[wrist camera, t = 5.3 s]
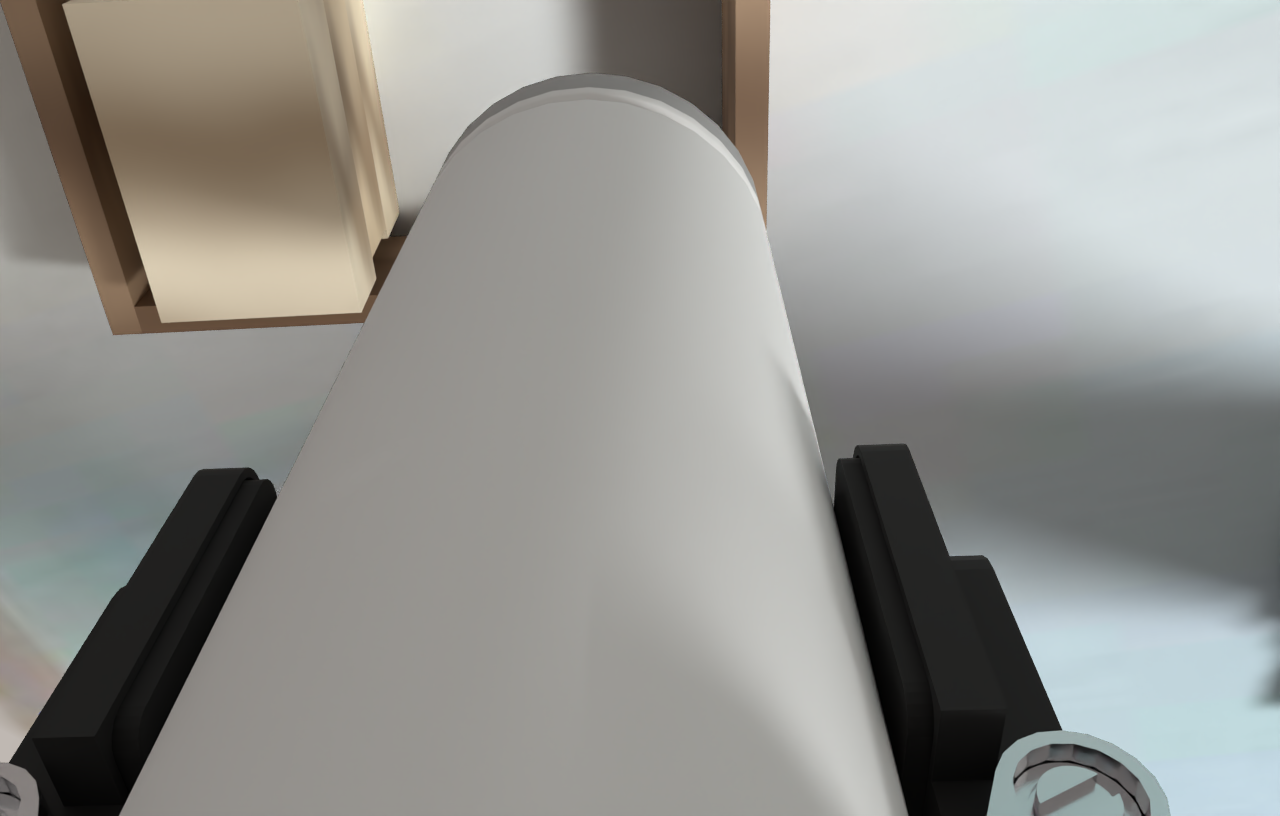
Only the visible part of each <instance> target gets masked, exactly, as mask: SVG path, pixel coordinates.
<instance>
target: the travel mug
mask: <svg viewBox="0 0 1280 816" xmlns="http://www.w3.org/2000/svg"><path fill="white" fill-rule="evenodd" d="M119 816H909V815H908V811H907V807H906V803H905V799H904V795H903V791H902V786H901V782H900V778H899V774H898V770H897V766H896V762H895V758H894V754H893V749H892V745H891V741H890V737H889V733H888V729H887V725H886V721H885V717H884V713H883V708H882V704H881V700H880V696H879V692H878V688H877V684H876V680H875V676H874V671H873V667H872V663H871V659H870V655H869V651H868V647H867V643H866V639H865V635H864V630H863V626H862V622H861V618H860V614H859V610H858V606H857V602H856V598H855V594H854V589H853V585H852V581H851V577H850V573H849V569H848V565H847V561H846V557H845V553H844V548H843V544H842V540H841V536H840V532H839V528H838V524H837V520H836V516H835V512H834V507H833V503H832V499H831V495H830V491H829V487H828V482H827V478H826V474H825V470H824V466H823V462H822V458H821V454H820V450H819V446H818V441H817V437H816V433H815V429H814V425H813V421H812V417H811V413H810V409H809V404H808V400H807V396H806V392H805V388H804V384H803V380H802V376H801V372H800V367H799V363H798V359H797V355H796V351H795V347H794V343H793V339H792V335H791V330H790V326H789V322H788V318H787V314H786V310H785V306H784V302H783V298H782V294H781V289H780V285H779V281H778V277H777V273H776V269H775V265H774V261H773V257H772V252H771V248H770V244H769V241H768V237H767V232H766V228H765V224H764V220H763V215H762V211H761V208H760V204H759V200H758V196H757V192H756V189H755V185H754V181H753V179H752V177H751V175H750V173H749V171H748V169H747V167H746V165H745V163H744V161H743V159H742V157H741V155H740V153H739V151H738V150H737V148H736V147H735V146H734V145H733V143H732V142H731V141H730V140H729V138H728V137H727V136H726V135H725V133H724V132H723V131H722V130H721V128H720V127H719V126H718V125H717V124H716V123H715V122H714V121H712V120H711V119H710V118H709V117H708V116H706V115H705V114H704V113H703V112H702V111H700V110H699V109H698V108H697V107H696V106H694V105H693V104H692V103H690V102H689V101H687V100H685V99H683V98H681V97H679V96H677V95H676V94H674V93H672V92H670V91H668V90H666V89H664V88H662V87H661V86H657V85H654V84H651V83H647V82H644V81H641V80H637V79H634V78H631V77H627V76H619V75H608V74H597V73H586V74H577V75H567V76H557V77H554V78H550V79H547V80H544V81H541V82H538V83H535V84H532V85H528V86H525V87H523V88H521V89H519V90H517V91H516V92H514V93H512V94H510V95H508V96H507V97H505V98H503V99H501V100H500V101H498V102H496V103H494V104H493V105H492V106H491V107H489V108H488V109H487V110H486V111H485V112H484V113H483V114H482V115H480V116H479V117H478V118H477V119H476V120H475V121H474V122H472V123H471V124H470V125H469V126H468V127H467V129H466V130H465V132H464V133H463V134H462V136H461V137H460V138H459V140H458V141H457V142H456V144H455V145H454V146H453V148H452V149H451V151H450V152H449V154H448V156H447V158H446V160H445V162H444V164H443V166H442V168H441V170H440V172H439V174H438V176H437V178H436V181H435V183H434V184H433V186H432V188H431V190H430V192H429V194H428V196H427V198H426V200H425V202H424V204H423V206H422V208H421V210H420V212H419V214H418V216H417V218H416V220H415V222H414V224H413V226H412V228H411V230H410V232H409V234H408V236H407V238H406V240H405V242H404V244H403V246H402V248H401V250H400V252H399V254H398V256H397V258H396V260H395V262H394V264H393V266H392V268H391V270H390V272H389V274H388V276H387V278H386V280H385V282H384V284H383V286H382V288H381V290H380V292H379V294H378V296H377V298H376V300H375V302H374V304H373V306H372V309H371V311H370V313H369V315H368V317H367V319H366V321H365V323H364V325H363V327H362V329H361V331H360V333H359V335H358V337H357V339H356V341H355V343H354V345H353V347H352V349H351V351H350V353H349V355H348V357H347V359H346V361H345V363H344V365H343V367H342V369H341V371H340V373H339V375H338V377H337V379H336V381H335V383H334V385H333V387H332V389H331V391H330V393H329V395H328V397H327V399H326V401H325V403H324V405H323V407H322V409H321V411H320V413H319V415H318V417H317V419H316V421H315V423H314V425H313V427H312V429H311V431H310V433H309V435H308V437H307V439H306V441H305V443H304V445H303V447H302V449H301V451H300V453H299V455H298V457H297V459H296V461H295V463H294V465H293V467H292V469H291V471H290V473H289V475H288V477H287V479H286V481H285V483H284V485H283V487H282V489H281V491H280V493H279V495H278V497H277V499H276V501H275V503H274V505H273V507H272V509H271V511H270V513H269V515H268V517H267V519H266V521H265V523H264V525H263V527H262V529H261V531H260V533H259V535H258V537H257V539H256V541H255V543H254V546H253V548H252V550H251V552H250V554H249V556H248V558H247V560H246V562H245V564H244V566H243V568H242V570H241V572H240V574H239V576H238V578H237V580H236V582H235V584H234V586H233V588H232V590H231V592H230V594H229V596H228V598H227V600H226V602H225V604H224V606H223V608H222V610H221V612H220V614H219V616H218V618H217V620H216V622H215V624H214V626H213V628H212V630H211V632H210V634H209V636H208V638H207V640H206V642H205V644H204V646H203V648H202V650H201V652H200V654H199V656H198V658H197V660H196V662H195V664H194V666H193V668H192V670H191V672H190V674H189V676H188V678H187V680H186V682H185V684H184V686H183V688H182V690H181V692H180V694H179V696H178V698H177V700H176V702H175V704H174V706H173V708H172V710H171V712H170V714H169V716H168V718H167V720H166V722H165V724H164V726H163V728H162V730H161V732H160V734H159V736H158V738H157V740H156V742H155V744H154V746H153V748H152V750H151V752H150V754H149V756H148V758H147V760H146V762H145V764H144V766H143V768H142V770H141V772H140V774H139V776H138V778H137V780H136V783H135V785H134V787H133V789H132V791H131V793H130V795H129V797H128V799H127V801H126V803H125V805H124V807H123V809H122V811H121V813H120V815H119Z"/></svg>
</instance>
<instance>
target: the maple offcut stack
mask: <svg viewBox="0 0 1280 816" xmlns="http://www.w3.org/2000/svg"><path fill="white" fill-rule="evenodd" d="M62 6H63V9H64V12H65V15H66V19H67V22H68V25H69V28H70V31H71V35H72V38H73V41H74V44H75V47H76V51H77V54H78V57H79V60H80V63H81V67H82V70H83V73H84V76H85V79H86V83H87V86H88V89H89V92H90V95H91V99H92V102H93V105H94V108H95V111H96V115H97V118H98V121H99V124H100V128H101V131H102V134H103V137H104V140H105V144H106V147H107V150H108V153H109V156H110V160H111V163H112V166H113V169H114V172H115V176H116V179H117V182H118V185H119V188H120V192H121V195H122V198H123V201H124V204H125V208H126V211H127V214H128V217H129V220H130V224H131V227H132V230H133V233H134V236H135V240H136V243H137V246H138V249H139V252H140V256H141V259H142V262H143V265H144V268H145V272H146V275H147V278H148V281H149V284H150V288H151V291H152V294H153V297H154V300H155V304H156V307H157V310H158V313H159V316H160V320H161V323H170V322H190V321H209V320H228V319H248V318H267V317H286V316H305V315H325V314H344V313H361V312H362V310H363V308H364V306H365V303H366V301H367V299H368V297H369V294H370V292H371V290H372V288H373V285H374V283H375V281H376V274H375V268H374V263H373V255H374V253H375V251H376V249H377V247H378V245H379V243H380V241H381V239H388V237H389V235H390V233H391V231H392V229H393V226H394V224H395V222H396V220H397V218H398V215H399V213H400V212H399V206H398V201H397V195H396V189H395V183H394V178H393V172H392V166H391V160H390V155H389V149H388V143H387V137H386V132H385V126H384V120H383V114H382V109H381V103H380V97H379V91H378V86H377V80H376V74H375V68H374V63H373V57H372V51H371V45H370V40H369V34H368V28H367V22H366V17H365V11H364V5H363V0H70V1H68V2H66V3H64V4H62Z"/></svg>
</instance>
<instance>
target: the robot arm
mask: <svg viewBox="0 0 1280 816" xmlns="http://www.w3.org/2000/svg"><path fill="white" fill-rule="evenodd" d="M276 499H277V495H276V491H275V488H274V486H273V484H272V482H271V481H270V480H268V479H263V480H259V478H258V476H257V474H256V473H255V471H254V470H253V469H251V468H224V469H203V470H199V471H198V472H197V473H196V474H195V475H194V477H193V478H192V480H191V482H190V483H189V485H188V486H187V488H186V490H185V491H184V493H183V495H182V496H181V498H180V499H179V501H178V503H177V504H176V506H175V507H174V509H173V511H172V512H171V514H170V516H169V517H168V519H167V520H166V522H165V524H164V525H163V527H162V528H161V530H160V532H159V533H158V535H157V537H156V538H155V540H154V541H153V543H152V545H151V546H150V548H149V549H148V551H147V553H146V554H145V556H144V557H143V559H142V561H141V562H140V564H139V566H138V567H137V569H136V570H135V572H134V574H133V575H132V577H131V578H130V580H129V582H128V583H127V585H126V586H124V587H122V588H120V589H119V591H118V592H117V593H116V594H115V595H114V597H113V598H112V599H111V601H110V602H109V604H108V606H107V607H106V609H105V610H104V612H103V614H102V615H101V617H100V618H99V620H98V621H97V623H96V625H95V626H94V628H93V629H92V631H91V633H90V634H89V636H88V637H87V639H86V641H85V642H84V644H83V645H82V647H81V649H80V650H79V652H78V653H77V655H76V657H75V658H74V660H73V661H72V663H71V665H70V666H69V668H68V669H67V671H66V673H65V674H64V676H63V677H62V679H61V680H60V682H59V684H58V685H57V687H56V688H55V690H54V692H53V693H52V695H51V696H50V698H49V700H48V701H47V703H46V704H45V706H44V708H43V709H42V711H41V712H40V714H39V716H38V717H37V719H36V720H35V722H34V724H33V725H32V727H31V728H30V730H29V732H28V733H27V735H26V736H25V738H24V740H23V741H22V743H21V744H20V746H19V747H18V749H17V751H16V752H15V754H14V755H13V757H12V759H11V760H10V762H9V763H0V816H119V815H120V813H121V811H122V809H123V807H124V805H125V803H126V801H127V799H128V797H129V795H130V793H131V791H132V789H133V787H134V785H135V783H136V780H137V778H138V776H139V774H140V772H141V770H142V768H143V766H144V764H145V762H146V760H147V758H148V756H149V754H150V752H151V750H152V748H153V746H154V744H155V742H156V740H157V738H158V736H159V734H160V732H161V730H162V728H163V726H164V724H165V722H166V720H167V718H168V716H169V714H170V712H171V710H172V708H173V706H174V704H175V702H176V700H177V698H178V696H179V694H180V692H181V690H182V688H183V686H184V684H185V682H186V680H187V678H188V676H189V674H190V672H191V670H192V668H193V666H194V664H195V662H196V660H197V658H198V656H199V654H200V652H201V650H202V648H203V646H204V644H205V642H206V640H207V638H208V636H209V634H210V632H211V630H212V628H213V626H214V624H215V622H216V620H217V618H218V616H219V614H220V612H221V610H222V608H223V606H224V604H225V602H226V600H227V598H228V596H229V594H230V592H231V590H232V588H233V586H234V584H235V582H236V580H237V578H238V576H239V574H240V572H241V570H242V568H243V566H244V564H245V562H246V560H247V558H248V556H249V554H250V552H251V550H252V548H253V546H254V543H255V541H256V539H257V537H258V535H259V533H260V531H261V529H262V527H263V525H264V523H265V521H266V519H267V517H268V515H269V513H270V511H271V509H272V507H273V505H274V503H275V501H276ZM834 512H835V516H836V520H837V524H838V528H839V532H840V536H841V540H842V544H843V548H844V553H845V557H846V561H847V565H848V569H849V573H850V577H851V581H852V585H853V589H854V594H855V598H856V602H857V606H858V610H859V614H860V618H861V622H862V626H863V630H864V635H865V639H866V643H867V647H868V651H869V655H870V659H871V663H872V667H873V671H874V676H875V680H876V684H877V688H878V692H879V696H880V700H881V704H882V708H883V713H884V717H885V721H886V725H887V729H888V733H889V737H890V741H891V745H892V749H893V754H894V758H895V762H896V766H897V770H898V774H899V778H900V782H901V786H902V791H903V795H904V799H905V803H906V807H907V811H908V815H909V816H1170V810H1169V805H1168V800H1167V797H1166V795H1165V793H1164V792H1163V790H1162V788H1161V786H1160V785H1159V783H1158V781H1157V779H1156V778H1155V776H1154V775H1153V774H1152V773H1151V772H1150V771H1149V770H1147V769H1146V768H1145V767H1144V766H1143V765H1142V764H1141V763H1140V762H1139V761H1138V760H1137V759H1136V758H1135V757H1133V756H1132V755H1130V754H1128V753H1127V752H1125V751H1124V750H1122V749H1120V748H1119V747H1117V746H1116V745H1114V744H1112V743H1109V742H1107V741H1104V740H1101V739H1099V738H1096V737H1093V736H1091V735H1088V734H1082V733H1075V732H1069V731H1062V728H1061V726H1060V724H1059V721H1058V719H1057V717H1056V714H1055V712H1054V710H1053V707H1052V705H1051V703H1050V700H1049V698H1048V696H1047V693H1046V691H1045V689H1044V686H1043V684H1042V681H1041V679H1040V677H1039V674H1038V672H1037V670H1036V667H1035V665H1034V663H1033V660H1032V658H1031V656H1030V653H1029V651H1028V649H1027V646H1026V644H1025V642H1024V639H1023V637H1022V635H1021V632H1020V630H1019V628H1018V625H1017V623H1016V621H1015V618H1014V616H1013V614H1012V611H1011V609H1010V607H1009V604H1008V602H1007V599H1006V597H1005V595H1004V592H1003V590H1002V588H1001V585H1000V583H999V581H998V578H997V576H996V574H995V571H994V569H993V567H992V565H991V564H990V562H989V560H988V559H987V558H986V557H984V556H983V555H979V556H949V554H948V551H947V549H946V546H945V543H944V541H943V538H942V535H941V533H940V530H939V527H938V525H937V522H936V519H935V517H934V514H933V512H932V509H931V506H930V504H929V501H928V498H927V496H926V493H925V490H924V488H923V485H922V483H921V480H920V477H919V475H918V472H917V469H916V467H915V464H914V461H913V459H912V456H911V453H910V451H909V449H908V447H907V445H906V444H883V445H857V446H856V447H855V450H854V455H853V458H844V459H838V461H837V467H836V482H835V499H834Z"/></svg>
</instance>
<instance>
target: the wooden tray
mask: <svg viewBox="0 0 1280 816" xmlns="http://www.w3.org/2000/svg"><path fill="white" fill-rule="evenodd" d="M68 1H70V0H0V2H1V5H2V8H3V11H4V14H5V17H6V20H7V23H8V26H9V29H10V32H11V35H12V38H13V41H14V44H15V47H16V50H17V53H18V56H19V59H20V61H21V64H22V67H23V70H24V73H25V76H26V79H27V82H28V85H29V88H30V91H31V94H32V97H33V100H34V103H35V106H36V109H37V112H38V115H39V118H40V121H41V124H42V126H43V129H44V132H45V135H46V138H47V141H48V144H49V147H50V150H51V153H52V156H53V159H54V162H55V165H56V168H57V171H58V174H59V177H60V180H61V183H62V186H63V189H64V192H65V194H66V197H67V200H68V203H69V206H70V209H71V212H72V215H73V218H74V221H75V224H76V227H77V230H78V233H79V236H80V239H81V242H82V245H83V248H84V251H85V254H86V257H87V260H88V262H89V265H90V268H91V271H92V274H93V277H94V280H95V283H96V286H97V289H98V292H99V295H100V298H101V301H102V304H103V307H104V310H105V313H106V316H107V319H108V322H109V325H110V327H111V330H112V333H113V335H123V334H144V333H164V332H185V331H206V330H226V329H247V328H267V327H288V326H309V325H329V324H350V323H365V321H366V319H367V317H368V315H369V313H370V311H371V309H372V306H373V304H374V302H375V300H376V298H377V296H378V294H379V292H380V290H381V288H382V286H383V284H384V282H385V280H386V278H387V276H388V274H389V272H390V270H391V268H392V266H393V264H394V262H395V260H396V258H397V256H398V254H399V252H400V250H401V248H402V246H403V244H404V242H405V240H406V238H407V236H395V237H388V239H381V241H380V243H379V245H378V247H377V249H376V251H375V253H374V255H373V263H374V268H375V274H376V281H375V283H374V285H373V288H372V290H371V292H370V294H369V297H368V299H367V301H366V303H365V306H364V308H363V310H362V312H361V313H344V314H325V315H305V316H286V317H267V318H248V319H228V320H209V321H190V322H170V323H161V320H160V316H159V313H158V310H157V307H156V304H155V300H154V297H153V294H152V291H151V288H150V284H149V281H148V278H147V275H146V272H145V268H144V265H143V262H142V259H141V256H140V252H139V249H138V246H137V243H136V240H135V236H134V233H133V230H132V227H131V224H130V220H129V217H128V214H127V211H126V208H125V204H124V201H123V198H122V195H121V192H120V188H119V185H118V182H117V179H116V176H115V172H114V169H113V166H112V163H111V160H110V156H109V153H108V150H107V147H106V144H105V140H104V137H103V134H102V131H101V128H100V124H99V121H98V118H97V115H96V111H95V108H94V105H93V102H92V99H91V95H90V92H89V89H88V86H87V83H86V79H85V76H84V73H83V70H82V67H81V63H80V60H79V57H78V54H77V51H76V47H75V44H74V41H73V38H72V35H71V31H70V28H69V25H68V22H67V19H66V15H65V12H64V9H63V6H62V4H64V3H66V2H68ZM769 44H770V0H722V131H723V132H724V133H725V135H726V136H727V137H728V138H729V140H730V141H731V142H732V143H733V145H734V146H735V147H736V148H737V150H738V151H739V153H740V155H741V157H742V159H743V161H744V163H745V165H746V167H747V169H748V171H749V173H750V175H751V177H752V179H753V181H754V185H755V189H756V192H757V196H758V200H759V204H760V208H761V211H762V215H763V220H764V224H765V228H766V219H767V161H768V103H769Z"/></svg>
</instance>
